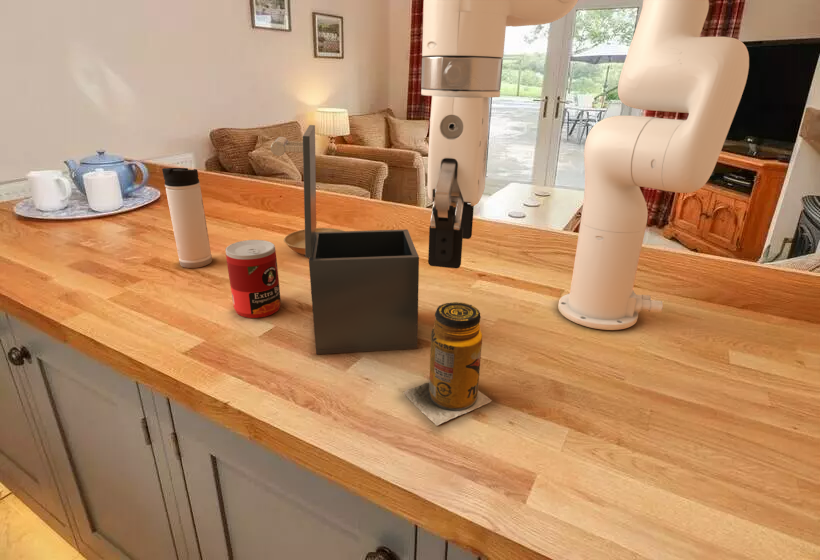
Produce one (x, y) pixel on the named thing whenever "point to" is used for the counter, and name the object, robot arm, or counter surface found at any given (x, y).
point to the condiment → (452, 365)
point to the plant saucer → (302, 239)
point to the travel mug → (187, 216)
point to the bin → (364, 291)
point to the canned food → (253, 278)
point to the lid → (309, 170)
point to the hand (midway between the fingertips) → (451, 250)
